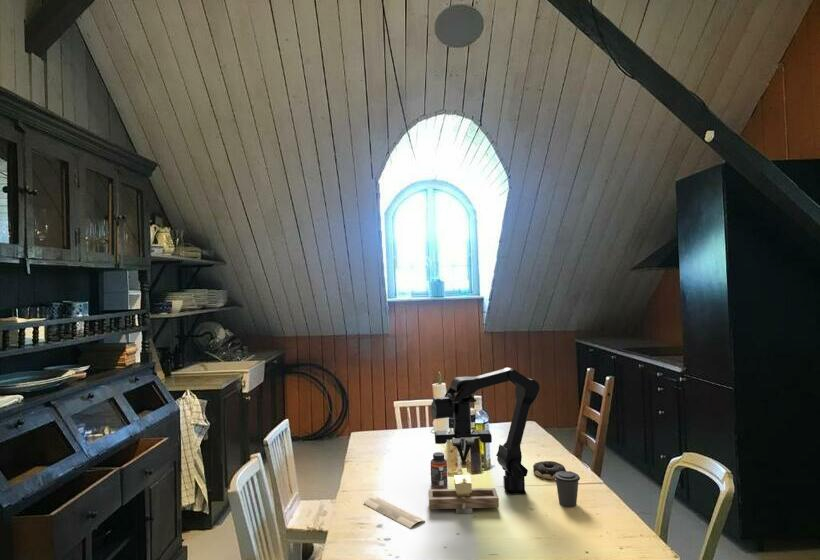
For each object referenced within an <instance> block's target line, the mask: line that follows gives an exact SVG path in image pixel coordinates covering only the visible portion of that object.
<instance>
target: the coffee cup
mask: <svg viewBox="0 0 820 560" xmlns="http://www.w3.org/2000/svg"><path fill="white" fill-rule="evenodd" d="M554 477H555V478H556V479H555V482H556V489H557V496H558V497H557V498H558V504H559V505H560V506H561V507H563V508H567V509H569V508H570V509H573V508H575V507H577V503H578V491H579V481H580V479H581V477H580V475H579V474H578V473H575V472H573V471H571V470H569V471H568V470H566V471H560V472H557V473H555V475H554Z"/></svg>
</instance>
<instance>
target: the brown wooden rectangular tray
mask: <svg viewBox="0 0 820 560" xmlns="http://www.w3.org/2000/svg"><path fill="white" fill-rule="evenodd" d="M499 499H500V498H499V495H498V493H497V490H496V488H495V487H487V488H486V487H483V488H482V487H481V488H479V487H477V488H472V493H470V497H465V496H463V497H457V493H456V490H455V488H437V489H435V488H434V489H433V488H431V489H430V488H429V489H428V505H429V507H428V509H429V510H437V509H439V510H440V509H441V510H442V509H446V510H447V509H455V514H456V515H471V514H472V515H473V509H489V508H490V509H491V508H492V509H493V508H500V500H499Z"/></svg>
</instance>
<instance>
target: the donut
mask: <svg viewBox="0 0 820 560" xmlns="http://www.w3.org/2000/svg"><path fill="white" fill-rule="evenodd" d="M532 467H533V470H532V471H533V473H534V475H536V476H538V477H539V478H543V479H546V480H556V478H555V477H554V475H555V473H557V472H560V471H567V470H566V467H565V466H564V464H562V463H559V462H556V461H551V460H546V461H544V460H542V461H538V462H535V463H534V464H533V465H532Z"/></svg>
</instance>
